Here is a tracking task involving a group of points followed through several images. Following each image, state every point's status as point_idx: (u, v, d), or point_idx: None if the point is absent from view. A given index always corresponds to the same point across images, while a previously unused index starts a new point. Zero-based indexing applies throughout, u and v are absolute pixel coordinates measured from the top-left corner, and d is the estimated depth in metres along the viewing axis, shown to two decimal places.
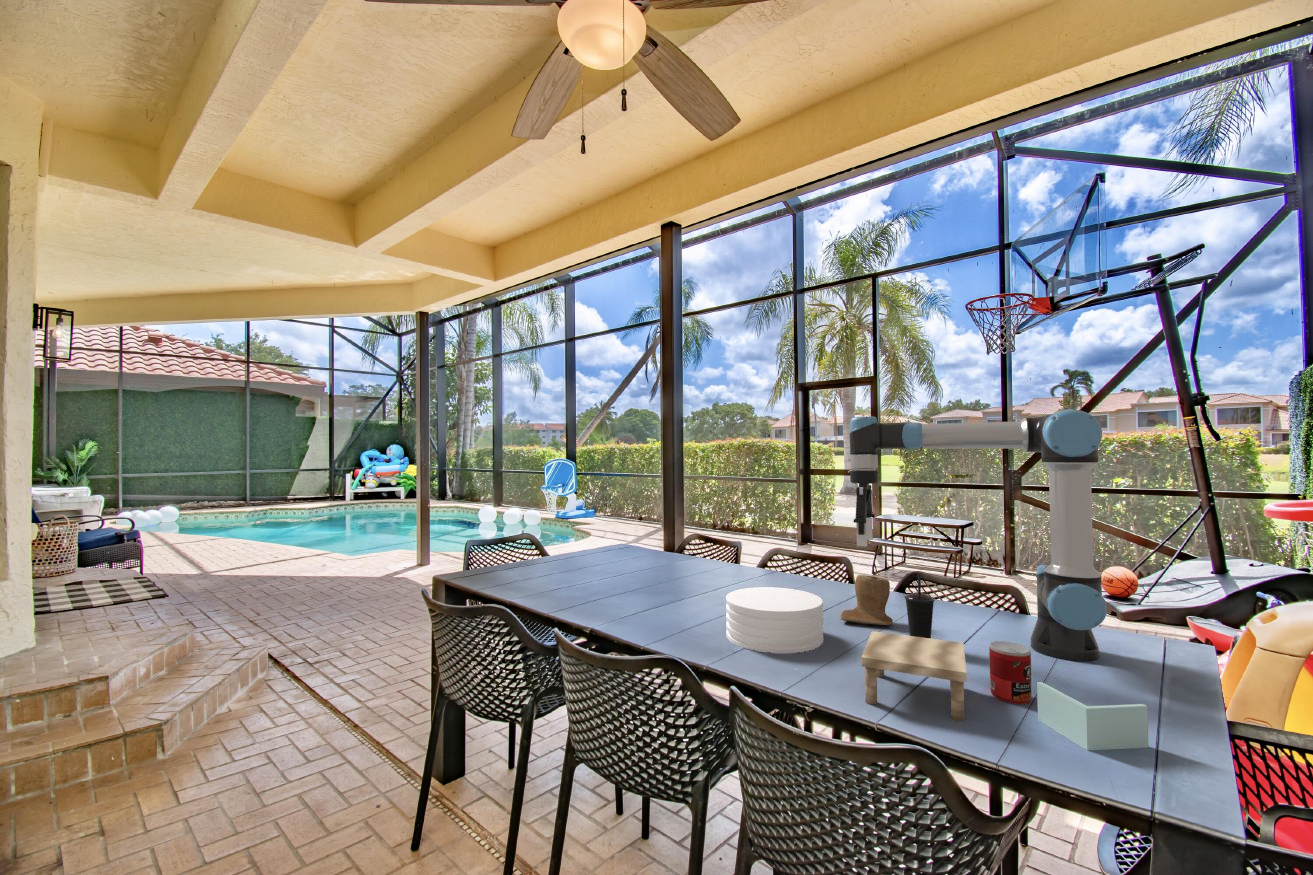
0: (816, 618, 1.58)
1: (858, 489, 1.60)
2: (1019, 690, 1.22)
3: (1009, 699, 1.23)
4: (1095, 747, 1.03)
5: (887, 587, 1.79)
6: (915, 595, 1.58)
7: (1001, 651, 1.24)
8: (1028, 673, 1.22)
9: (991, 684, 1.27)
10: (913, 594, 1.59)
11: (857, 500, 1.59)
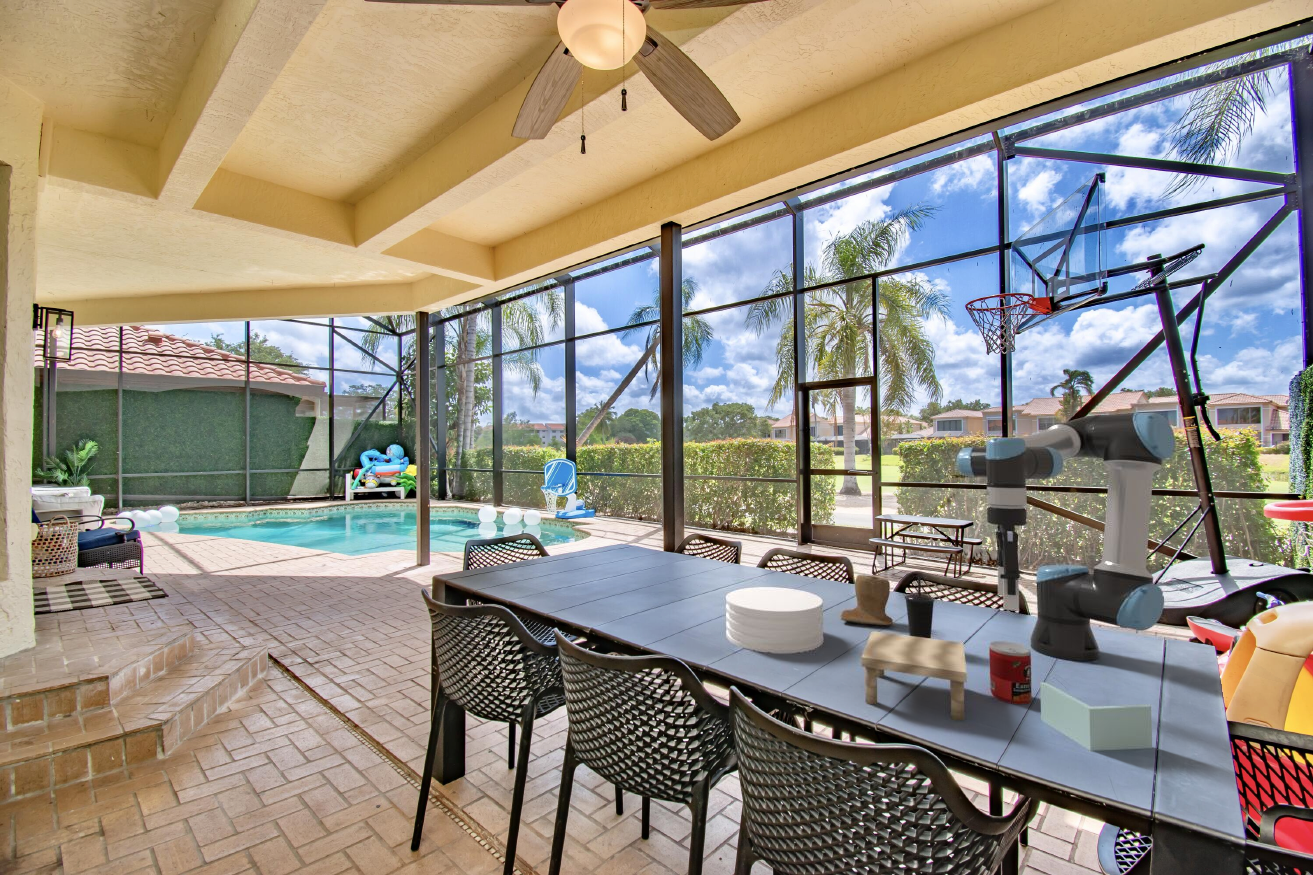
0: (816, 618, 1.58)
1: (1006, 534, 1.21)
2: (1019, 690, 1.22)
3: (1009, 699, 1.23)
4: (1098, 748, 1.03)
5: (887, 587, 1.79)
6: (915, 595, 1.58)
7: (1001, 651, 1.24)
8: (1028, 673, 1.22)
9: (991, 684, 1.27)
10: (913, 594, 1.59)
11: (1005, 548, 1.20)
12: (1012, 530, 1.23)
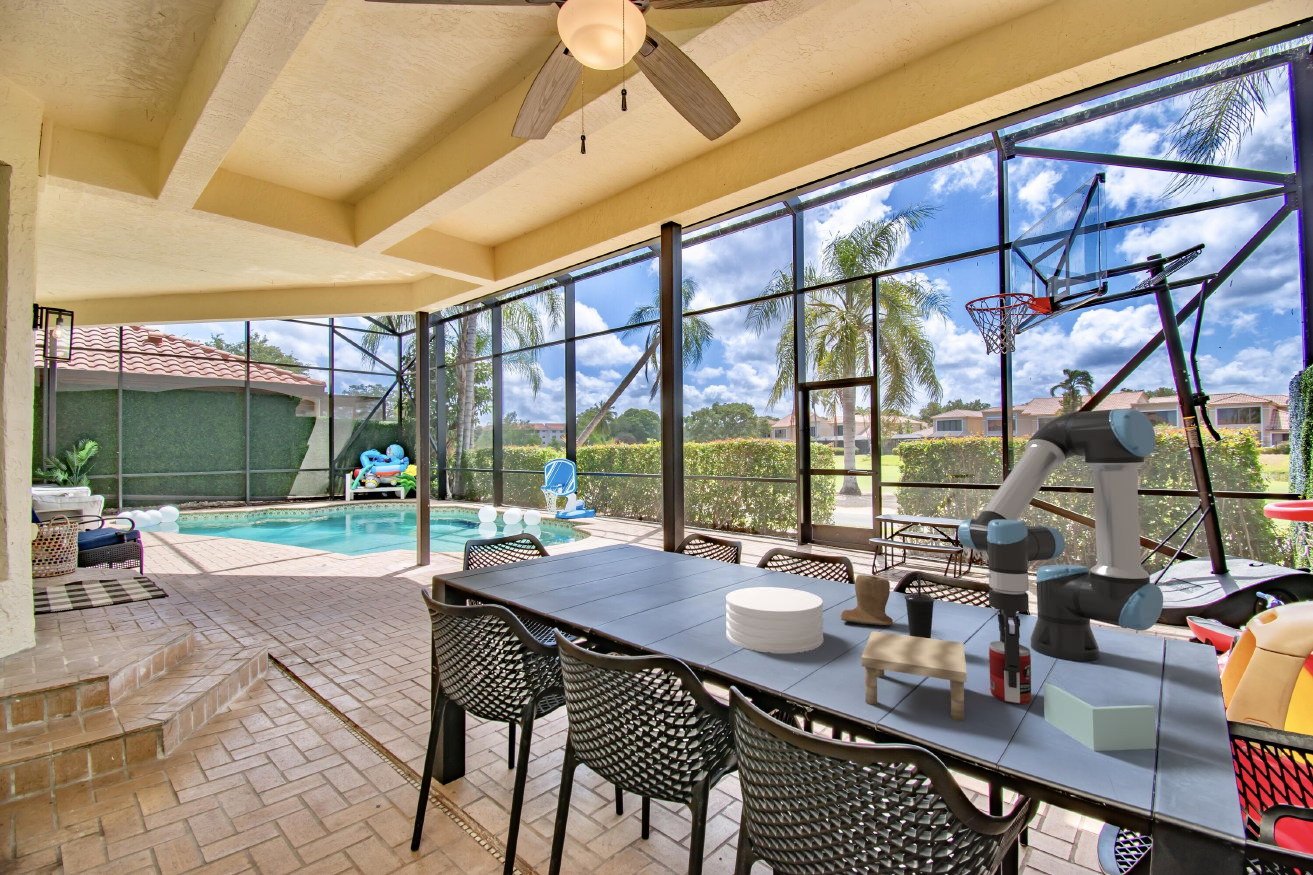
0: (816, 618, 1.58)
1: (1008, 627, 1.21)
2: None
3: None
4: (1101, 748, 1.03)
5: (887, 587, 1.79)
6: (915, 595, 1.58)
7: (1001, 651, 1.24)
8: (1027, 673, 1.22)
9: (991, 684, 1.27)
10: (913, 594, 1.59)
11: (1007, 641, 1.21)
12: (1014, 618, 1.22)
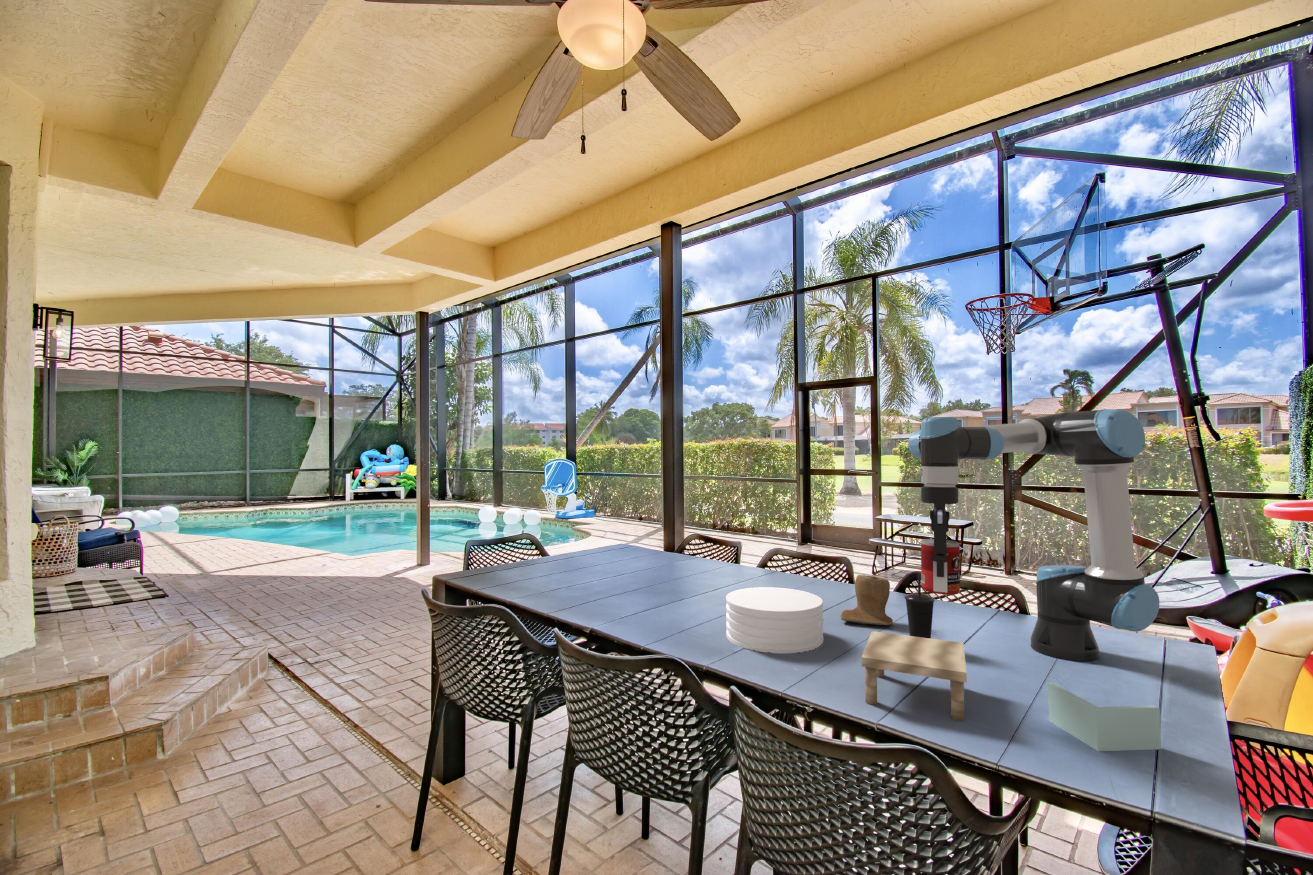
0: (816, 618, 1.58)
1: (936, 517, 1.22)
2: (947, 580, 1.23)
3: None
4: (1106, 748, 1.03)
5: (887, 587, 1.79)
6: (915, 595, 1.58)
7: (930, 543, 1.25)
8: (956, 564, 1.24)
9: (922, 578, 1.28)
10: (913, 594, 1.59)
11: (934, 531, 1.22)
12: (943, 509, 1.24)
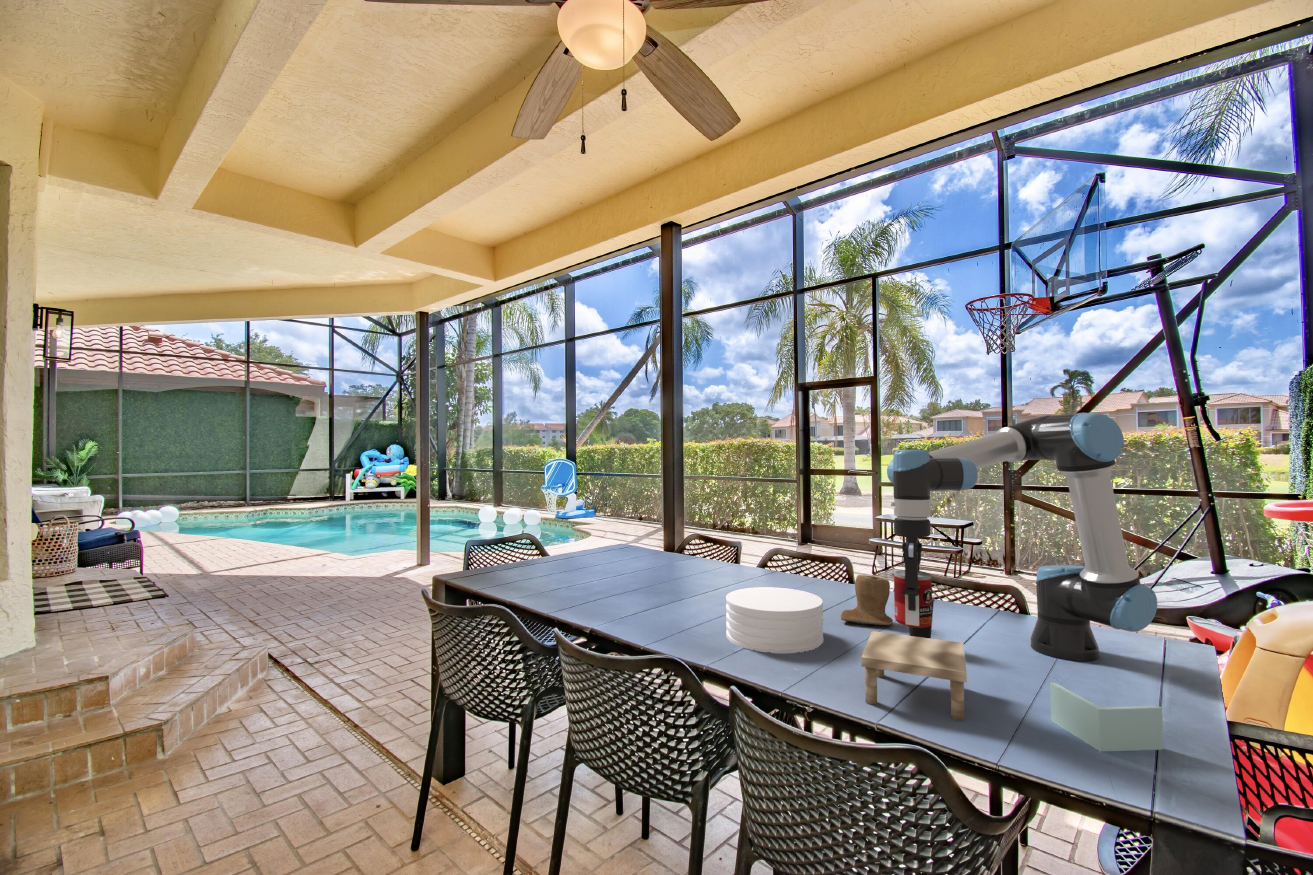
0: (816, 618, 1.58)
1: (907, 551, 1.23)
2: (919, 613, 1.24)
3: None
4: (1108, 748, 1.03)
5: (887, 587, 1.79)
6: None
7: (902, 576, 1.26)
8: (927, 597, 1.24)
9: (895, 610, 1.29)
10: None
11: (906, 565, 1.22)
12: (914, 543, 1.24)
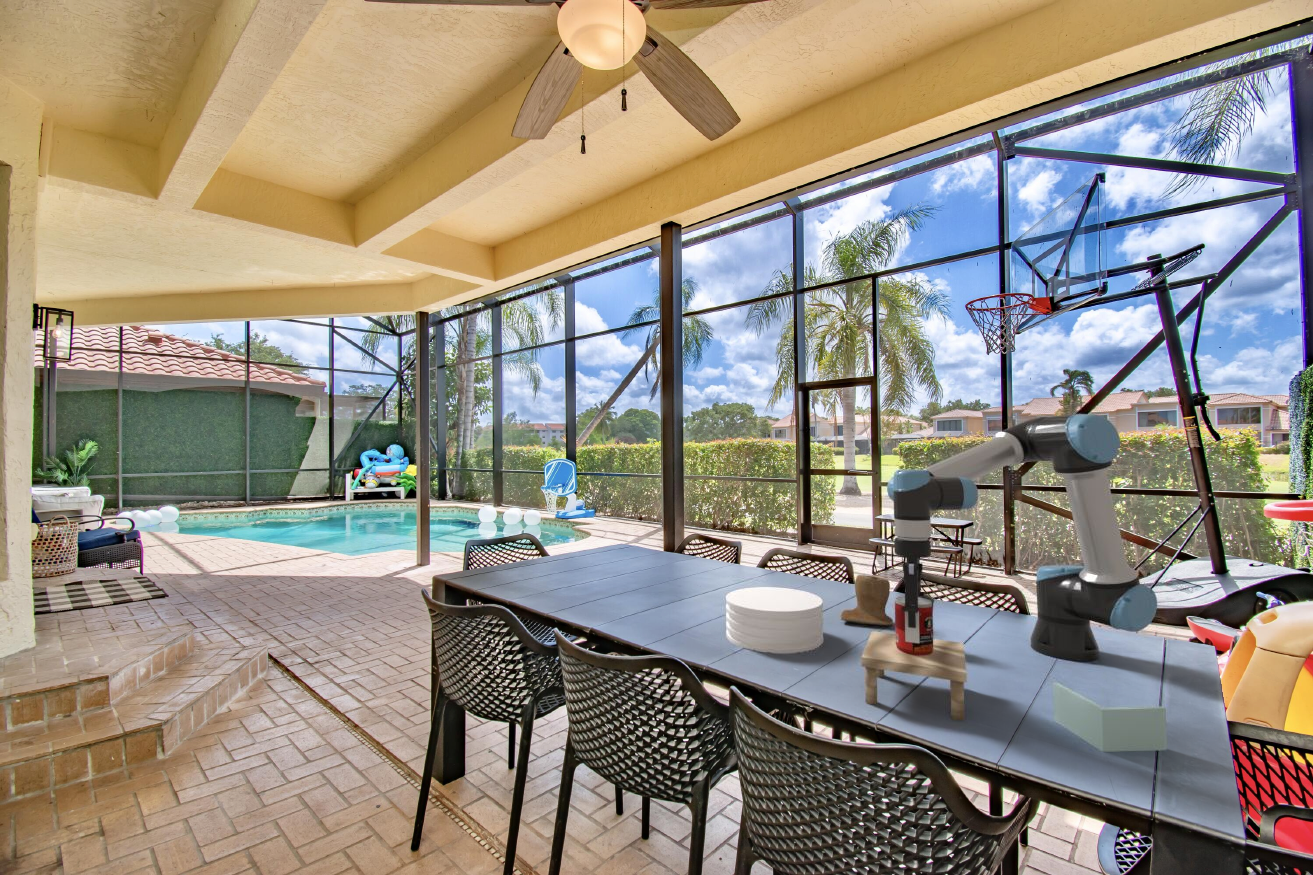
0: (816, 618, 1.58)
1: (907, 567, 1.22)
2: (920, 641, 1.24)
3: (910, 650, 1.24)
4: (1111, 749, 1.03)
5: (887, 587, 1.79)
6: None
7: (903, 603, 1.26)
8: (928, 625, 1.24)
9: (896, 637, 1.28)
10: None
11: (906, 581, 1.22)
12: (915, 562, 1.24)
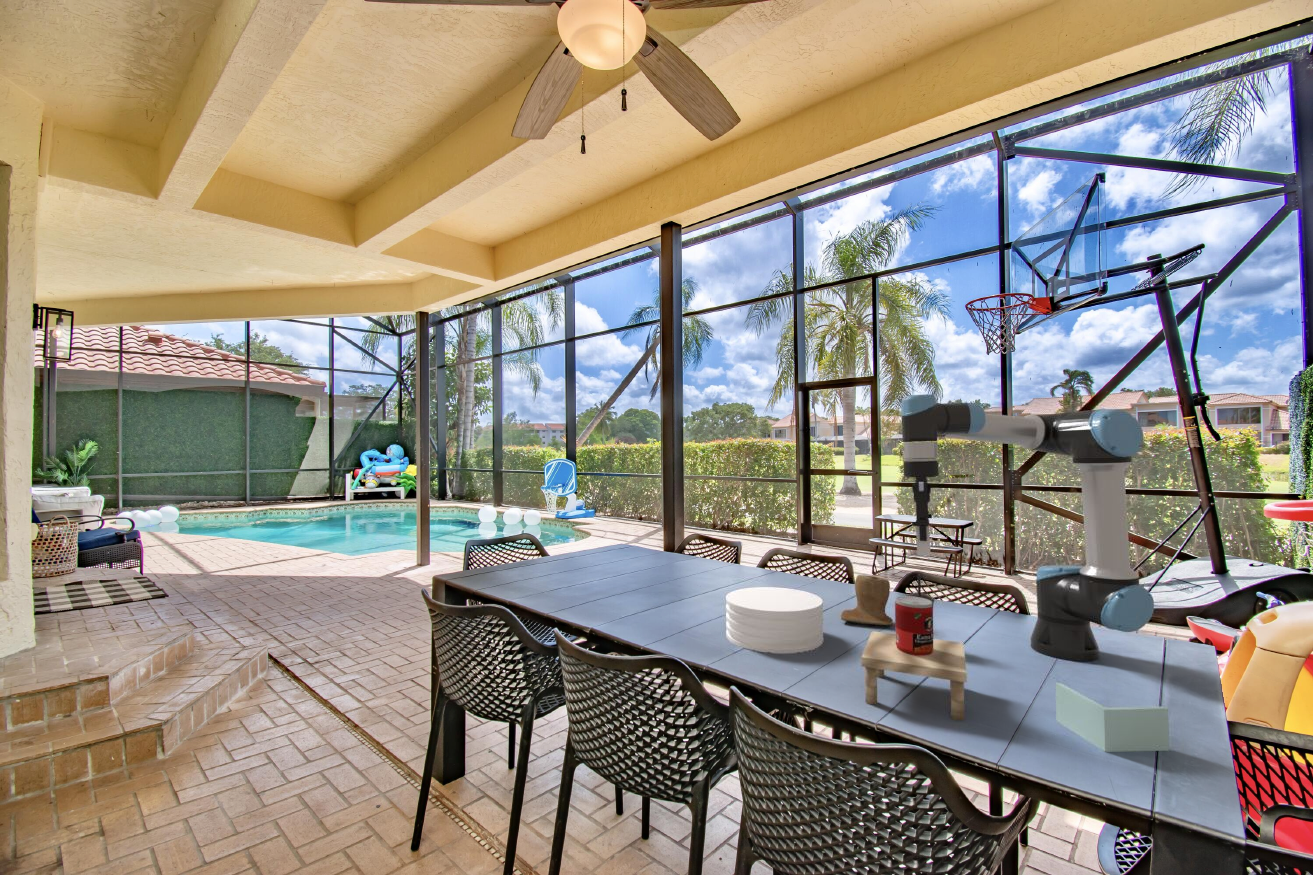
0: (816, 618, 1.58)
1: (917, 484, 1.29)
2: (920, 641, 1.24)
3: (910, 650, 1.24)
4: (1113, 749, 1.03)
5: (887, 587, 1.79)
6: (915, 595, 1.58)
7: (904, 603, 1.26)
8: (929, 625, 1.24)
9: (896, 637, 1.28)
10: (913, 594, 1.59)
11: (916, 498, 1.28)
12: (924, 481, 1.31)
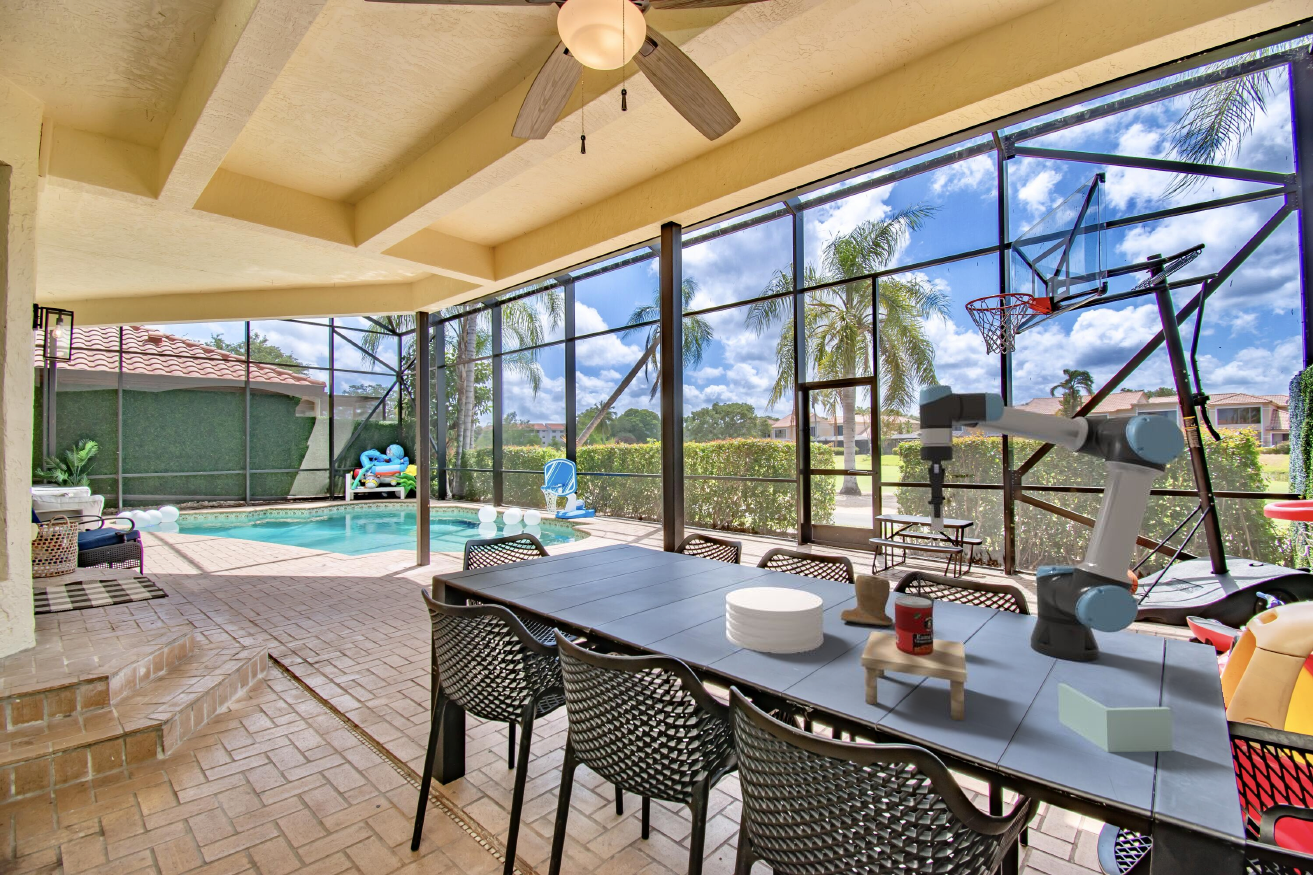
0: (816, 618, 1.58)
1: (933, 467, 1.41)
2: (920, 641, 1.24)
3: (910, 650, 1.24)
4: (1116, 749, 1.03)
5: (887, 587, 1.79)
6: (915, 595, 1.58)
7: (903, 604, 1.26)
8: (928, 625, 1.24)
9: (896, 637, 1.28)
10: (913, 594, 1.59)
11: (932, 479, 1.40)
12: (939, 464, 1.43)
